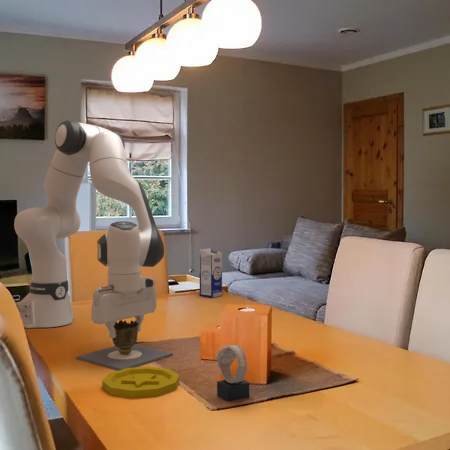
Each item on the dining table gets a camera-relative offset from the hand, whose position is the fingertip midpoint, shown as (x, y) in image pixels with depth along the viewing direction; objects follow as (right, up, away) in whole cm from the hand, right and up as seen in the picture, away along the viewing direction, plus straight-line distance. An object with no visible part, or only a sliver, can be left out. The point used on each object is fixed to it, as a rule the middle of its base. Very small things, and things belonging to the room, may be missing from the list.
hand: (125, 334), depth 159 cm
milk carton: (+21, -1, +91) cm, 93 cm away
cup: (0, -5, +1) cm, 5 cm away
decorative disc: (+7, -8, -22) cm, 25 cm away
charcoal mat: (0, -6, 0) cm, 6 cm away
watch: (+28, -8, -30) cm, 42 cm away
